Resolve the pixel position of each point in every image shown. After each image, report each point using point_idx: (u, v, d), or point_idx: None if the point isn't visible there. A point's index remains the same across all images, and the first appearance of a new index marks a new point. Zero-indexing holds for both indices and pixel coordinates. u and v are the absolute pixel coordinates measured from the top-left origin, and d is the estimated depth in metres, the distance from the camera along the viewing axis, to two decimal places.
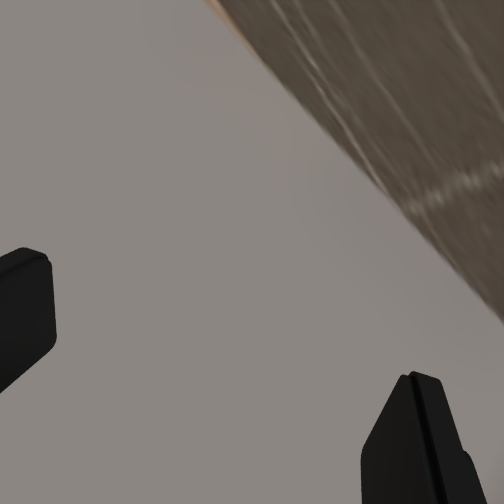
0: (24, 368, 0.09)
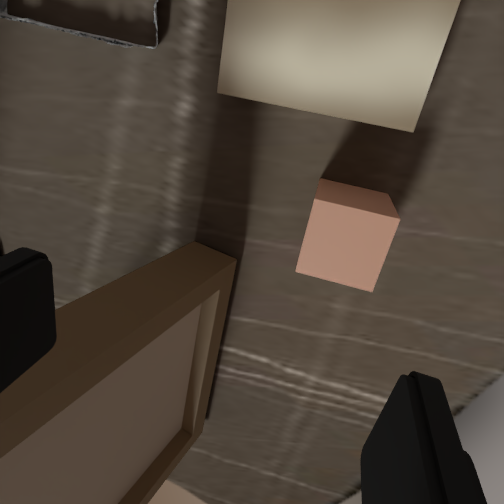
0: (24, 368, 0.09)
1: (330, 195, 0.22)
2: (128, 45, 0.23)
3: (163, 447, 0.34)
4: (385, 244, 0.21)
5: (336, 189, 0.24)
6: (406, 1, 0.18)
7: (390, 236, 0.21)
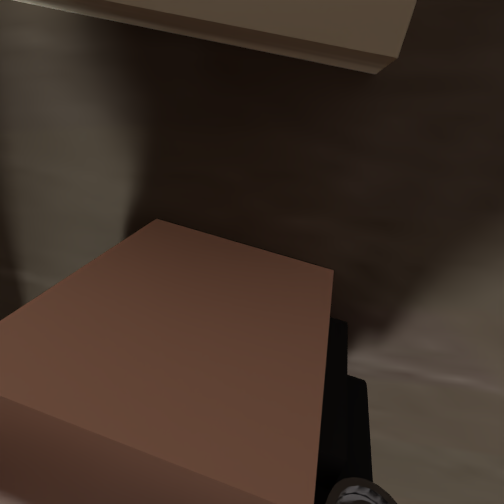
0: None
1: (77, 317, 0.06)
2: None
3: None
4: None
5: (154, 271, 0.07)
6: None
7: None
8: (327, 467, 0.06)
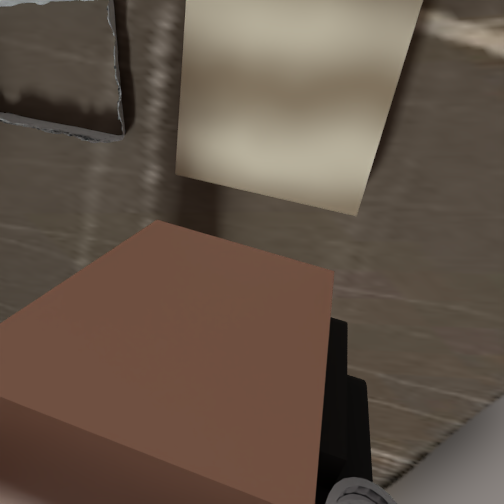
0: None
1: (79, 319, 0.06)
2: (96, 140, 0.26)
3: None
4: None
5: (155, 272, 0.07)
6: (341, 103, 0.19)
7: None
8: (327, 467, 0.06)
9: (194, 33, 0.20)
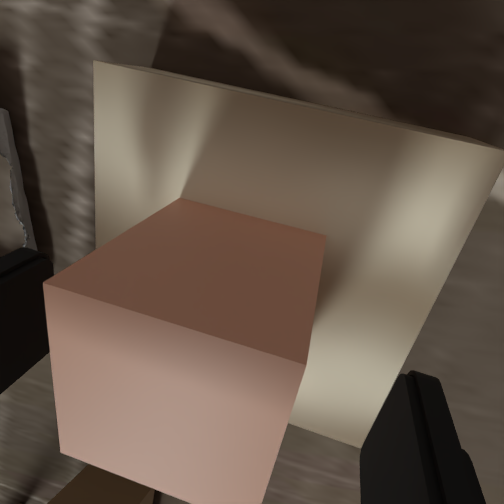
0: (25, 368, 0.09)
1: (133, 259, 0.08)
2: None
3: None
4: (270, 427, 0.07)
5: (184, 232, 0.10)
6: (343, 311, 0.12)
7: (282, 409, 0.06)
8: None
9: (110, 186, 0.12)
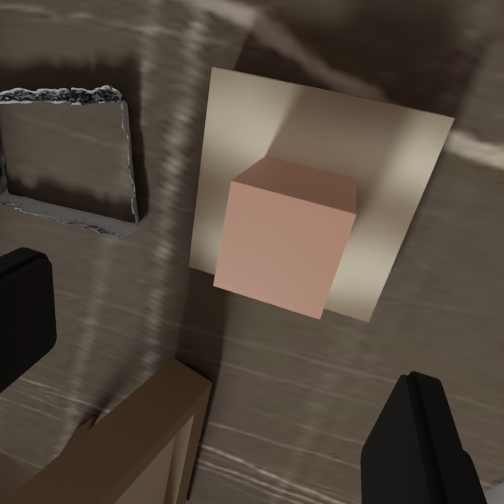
0: (24, 368, 0.09)
1: (262, 177, 0.15)
2: (111, 234, 0.26)
3: None
4: (336, 252, 0.14)
5: (278, 170, 0.17)
6: (358, 222, 0.19)
7: (342, 240, 0.14)
8: None
9: (213, 145, 0.20)
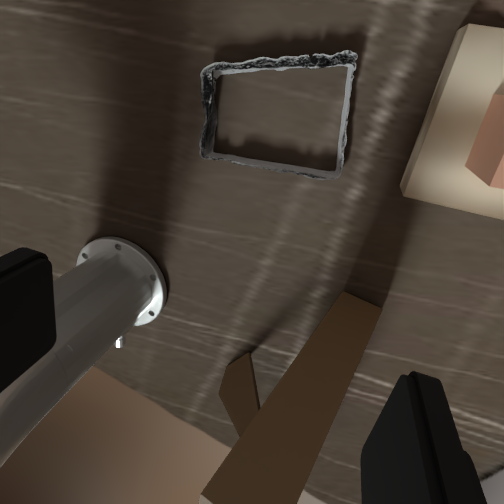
0: (24, 368, 0.09)
1: None
2: (322, 178, 0.31)
3: None
4: None
5: None
6: None
7: None
8: None
9: (454, 88, 0.25)
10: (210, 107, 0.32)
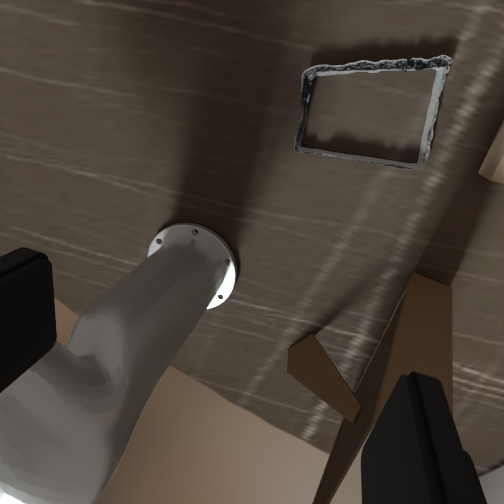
0: (24, 368, 0.09)
1: None
2: (409, 168, 0.35)
3: None
4: None
5: None
6: None
7: None
8: None
9: None
10: (307, 105, 0.36)
